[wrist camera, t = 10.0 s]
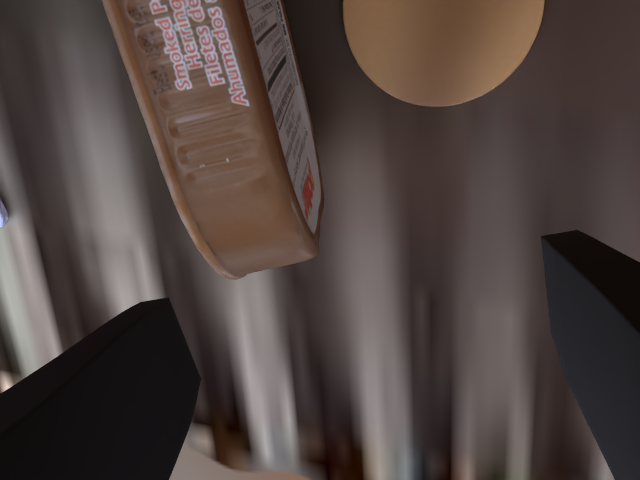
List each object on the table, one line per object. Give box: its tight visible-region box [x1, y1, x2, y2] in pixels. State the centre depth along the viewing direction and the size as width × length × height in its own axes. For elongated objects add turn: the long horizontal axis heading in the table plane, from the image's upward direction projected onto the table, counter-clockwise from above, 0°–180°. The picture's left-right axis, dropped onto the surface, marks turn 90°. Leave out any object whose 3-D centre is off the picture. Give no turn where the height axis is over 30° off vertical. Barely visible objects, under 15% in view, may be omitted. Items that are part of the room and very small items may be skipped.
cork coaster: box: [343, 0, 545, 107], centre depth 19 cm, size 6×6×1 cm
